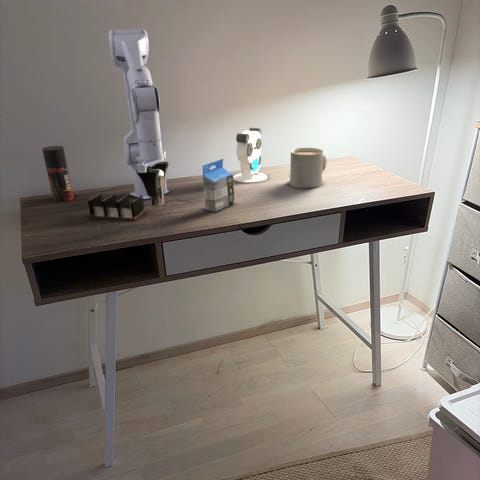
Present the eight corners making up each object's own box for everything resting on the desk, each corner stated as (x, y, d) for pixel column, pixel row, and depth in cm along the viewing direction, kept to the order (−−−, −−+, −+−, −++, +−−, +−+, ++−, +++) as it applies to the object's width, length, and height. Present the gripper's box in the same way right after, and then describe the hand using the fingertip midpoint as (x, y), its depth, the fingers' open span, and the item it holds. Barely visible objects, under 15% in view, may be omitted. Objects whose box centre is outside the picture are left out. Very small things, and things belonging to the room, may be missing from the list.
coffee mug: (301, 189, 156) (302, 156, 151) (284, 182, 163) (284, 150, 158) (336, 183, 161) (339, 150, 156) (318, 176, 169) (320, 144, 164)
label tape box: (215, 212, 140) (213, 167, 134) (204, 210, 142) (201, 165, 136) (235, 203, 146) (233, 160, 140) (224, 201, 148) (221, 158, 142)
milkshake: (156, 200, 139) (152, 163, 134) (170, 203, 136) (166, 165, 131) (143, 204, 136) (139, 166, 131) (157, 208, 133) (153, 169, 128)
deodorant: (69, 201, 153) (59, 150, 145) (50, 201, 153) (38, 150, 145) (76, 195, 158) (66, 145, 150) (57, 195, 158) (46, 145, 150)
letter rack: (90, 218, 139) (87, 200, 136) (102, 210, 145) (99, 192, 142) (134, 221, 136) (131, 202, 134) (145, 212, 142) (142, 194, 139)
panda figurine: (258, 184, 162) (257, 135, 155) (226, 181, 167) (224, 133, 159) (272, 175, 171) (272, 128, 164) (242, 172, 176) (240, 126, 168)
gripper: (145, 133, 134) (152, 185, 141) (122, 145, 122) (130, 201, 129) (171, 134, 133) (176, 186, 140) (150, 146, 121) (156, 202, 128)
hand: (155, 193), depth 134 cm, fingers closed on milkshake, 4 cm apart
